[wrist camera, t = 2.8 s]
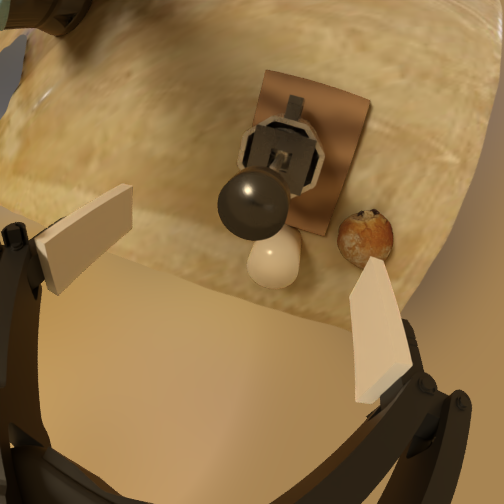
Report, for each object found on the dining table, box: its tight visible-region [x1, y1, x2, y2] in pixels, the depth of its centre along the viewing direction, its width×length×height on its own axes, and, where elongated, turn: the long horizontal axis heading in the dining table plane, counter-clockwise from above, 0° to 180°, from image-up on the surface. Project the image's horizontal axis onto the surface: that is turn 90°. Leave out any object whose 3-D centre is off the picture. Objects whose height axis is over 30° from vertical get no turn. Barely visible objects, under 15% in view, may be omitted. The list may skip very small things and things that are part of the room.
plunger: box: [218, 127, 311, 241], centre depth 24 cm, size 7×7×18 cm
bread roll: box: [337, 209, 393, 269], centre depth 43 cm, size 10×10×8 cm
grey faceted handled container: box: [237, 94, 325, 198], centre depth 33 cm, size 13×10×12 cm
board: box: [252, 70, 370, 236], centre depth 40 cm, size 24×16×1 cm, turn 168°
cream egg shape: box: [247, 224, 302, 289], centre depth 46 cm, size 9×8×9 cm
